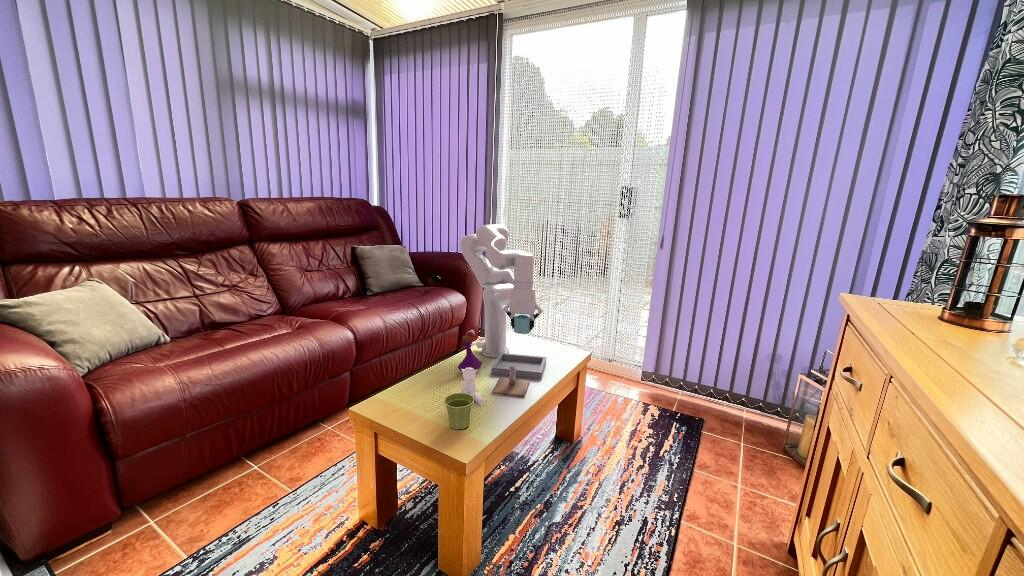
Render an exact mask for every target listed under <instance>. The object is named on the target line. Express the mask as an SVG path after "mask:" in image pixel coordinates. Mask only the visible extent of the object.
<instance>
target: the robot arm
mask: <svg viewBox="0 0 1024 576" xmlns="http://www.w3.org/2000/svg"><path fill="white" fill-rule="evenodd" d="M508 239H509V230H508V228H507V227H506V225H503V224H501V223H500V224H497V223H496V224H483V225H481V226H479V227H478V228H477V229H476V232H475V233H470V234H467V235H465V236H463V237H462V238H461V240H460V251H461V254H462V256H463V258H464V259H465V261H466V262H467V264H469V266H470V267H471V270H472V272H473V274H474V275H475V278H476V279H477V282H478V283H479V285H480V286H481V287H483V288H484V289H483V290H482V299H483V306H484V341H482V342H481V341H476V343H475V345H476V346H475V347H476V348H477V349H478V348H479V349H481V354H482V355H483V356H484V357H487V358H495V359H496V358H498V357H499V355H500V353H507V354H510V349H509V348H508V347H507V317H509V319H510V326H511V330H514V316H515V315H520V314H525V315H530V317H531V320H530V330H531V331H533V329H534V328H535V320H536V319H537V318H539V316H540V315H541V314H543V312H544V311H543V309H542V308H541V307H540V306H539V305H538V304H537V298H536V291H535V290H536V289H535V287H534V263H535V262H534V261H535V260H534V259H535V257H534V254H532V253H529V252H526V251H524V250H523V249H513V250H512V249H511V250H510V249H509V250H506V248H507V241H508ZM480 252H481V253H480ZM483 252H486V256H485V255H484V254H482V253H483ZM511 270H513V272H512V271H511ZM503 306H504V307H503ZM502 307H503V308H502ZM536 310H537V312H536ZM535 312H536V313H535Z"/></svg>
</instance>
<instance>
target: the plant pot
mask: <svg viewBox="0 0 1024 576" xmlns="http://www.w3.org/2000/svg"><path fill="white" fill-rule="evenodd" d="M443 404H444V405H445V408H446V411H447V415H448V422H449V427H450V426H451V427H450V428H452V429H453V428H454V429H453V430H455V429H462V430H464V429H466V428H468V427H469V426H470V423H471V414H472V407H473V405H474V404H475V403H474V397H473V396H472V395H470V394H467V393H460V392H456V393H451V394H449V395H447V396H445V397H444V399H443Z"/></svg>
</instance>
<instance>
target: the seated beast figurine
mask: <svg viewBox="0 0 1024 576" xmlns="http://www.w3.org/2000/svg"><path fill="white" fill-rule="evenodd" d="M461 370H462V371H461ZM461 370H460V371H461V373H462V372H463V373H462V377H463V379H464V380H463V381H462V384H461V388H460V391H459V393H467V394H470V395H472V396H473V397H474V403H473V404H479V405H480V406H481V404H482V405H483V403H484V400H483V398H482V396H481V395H480V394H479V393H478V390H477V388H476V383H475V381H474V379H475V378H476V376H477V375H476V374H477V372H478V371H479V369H477V370H478V371H477V370H474V369H473V368H471V367H469V368H465V369H461Z"/></svg>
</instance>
